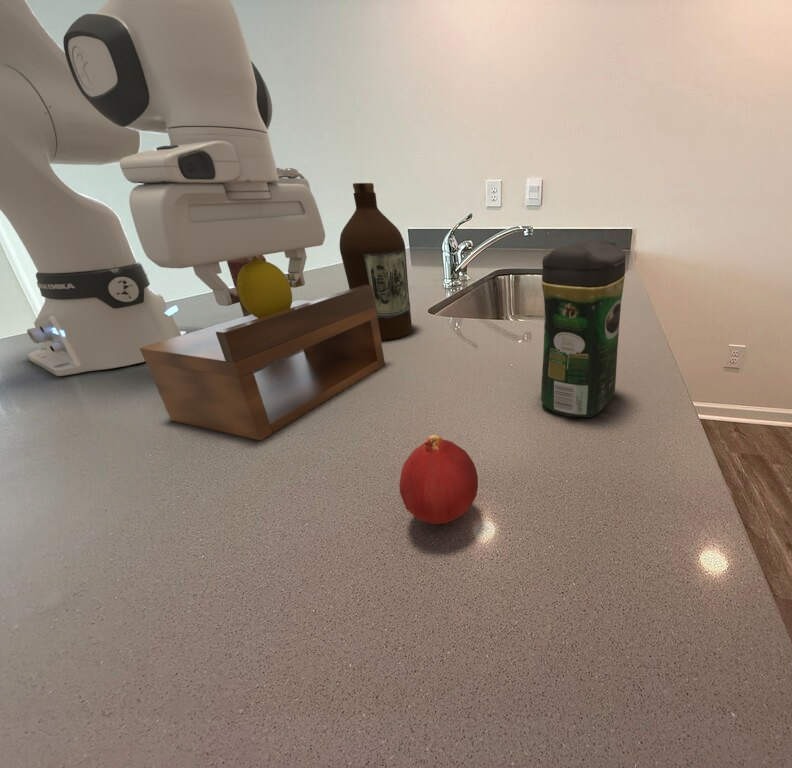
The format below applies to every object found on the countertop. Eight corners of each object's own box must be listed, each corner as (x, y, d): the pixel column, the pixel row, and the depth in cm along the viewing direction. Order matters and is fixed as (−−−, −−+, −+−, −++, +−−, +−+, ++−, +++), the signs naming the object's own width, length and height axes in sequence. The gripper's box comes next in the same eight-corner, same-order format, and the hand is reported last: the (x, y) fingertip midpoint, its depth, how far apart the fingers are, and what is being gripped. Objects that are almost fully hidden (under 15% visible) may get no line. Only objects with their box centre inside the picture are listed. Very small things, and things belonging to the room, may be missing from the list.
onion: (412, 497, 35) (399, 415, 31) (479, 492, 35) (474, 411, 32) (401, 552, 29) (384, 461, 26) (481, 545, 30) (474, 455, 26)
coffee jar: (564, 379, 55) (569, 235, 47) (621, 392, 52) (637, 238, 44) (529, 410, 48) (529, 245, 40) (593, 427, 44) (607, 249, 36)
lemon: (264, 333, 47) (243, 262, 44) (240, 326, 50) (218, 259, 46) (308, 321, 51) (292, 255, 48) (283, 315, 54) (266, 253, 51)
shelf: (171, 420, 47) (127, 320, 42) (312, 354, 66) (294, 280, 61) (260, 441, 43) (224, 332, 38) (385, 364, 62) (372, 284, 56)
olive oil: (346, 333, 76) (316, 184, 65) (397, 321, 82) (377, 184, 72) (373, 346, 69) (344, 182, 58) (426, 332, 75) (409, 182, 65)
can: (269, 333, 77) (247, 256, 71) (241, 332, 78) (216, 256, 72) (291, 324, 82) (272, 251, 76) (264, 322, 83) (243, 251, 77)
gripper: (285, 169, 53) (310, 277, 59) (96, 160, 36) (158, 314, 42) (324, 167, 51) (345, 279, 57) (144, 157, 34) (202, 319, 40)
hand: (265, 294), depth 49 cm, fingers open, 8 cm apart
